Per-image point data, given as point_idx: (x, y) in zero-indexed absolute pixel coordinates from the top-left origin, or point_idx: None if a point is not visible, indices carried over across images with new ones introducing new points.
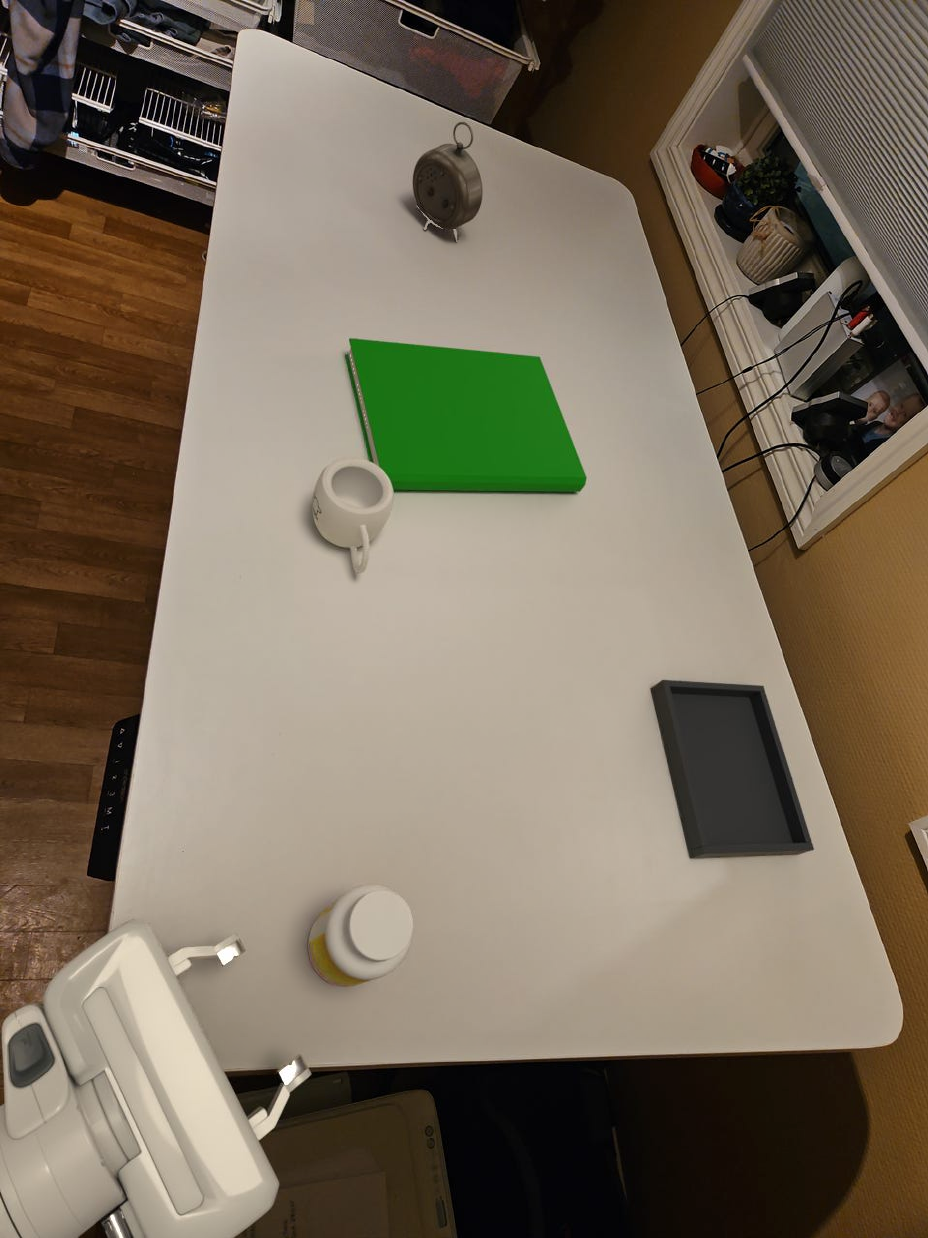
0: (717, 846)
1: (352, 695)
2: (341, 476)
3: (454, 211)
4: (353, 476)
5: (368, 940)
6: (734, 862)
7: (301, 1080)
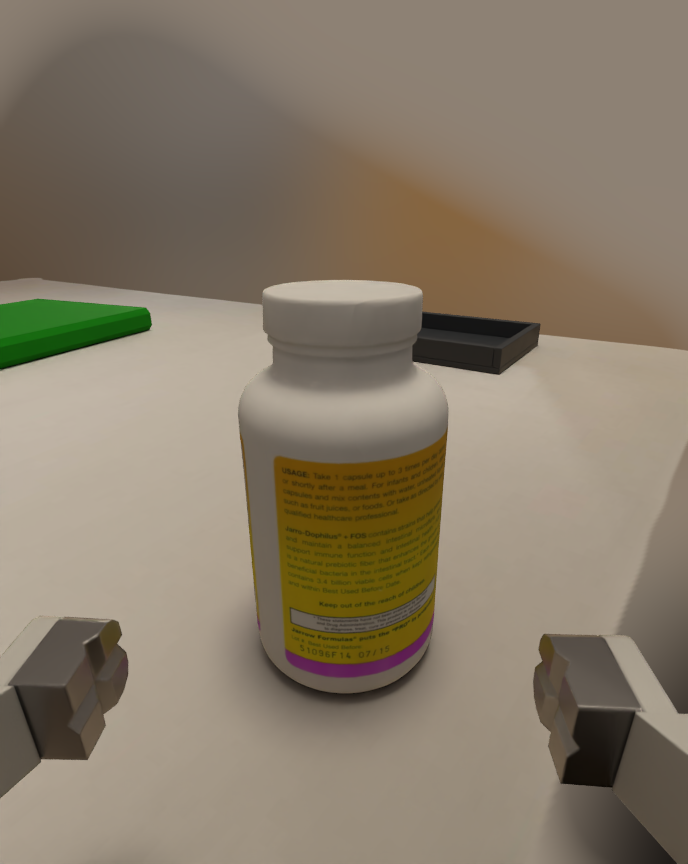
0: (501, 344)
1: (50, 472)
2: None
3: None
4: None
5: (352, 296)
6: (520, 362)
7: (636, 657)
